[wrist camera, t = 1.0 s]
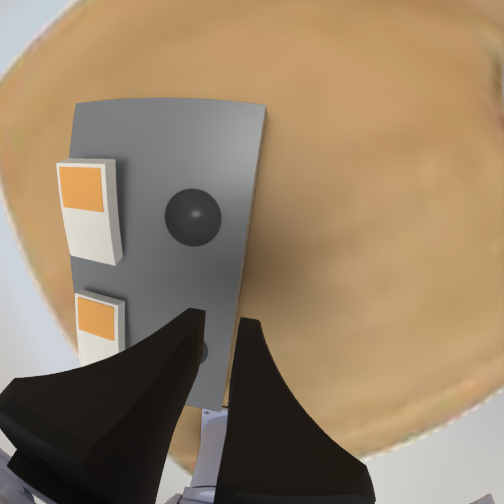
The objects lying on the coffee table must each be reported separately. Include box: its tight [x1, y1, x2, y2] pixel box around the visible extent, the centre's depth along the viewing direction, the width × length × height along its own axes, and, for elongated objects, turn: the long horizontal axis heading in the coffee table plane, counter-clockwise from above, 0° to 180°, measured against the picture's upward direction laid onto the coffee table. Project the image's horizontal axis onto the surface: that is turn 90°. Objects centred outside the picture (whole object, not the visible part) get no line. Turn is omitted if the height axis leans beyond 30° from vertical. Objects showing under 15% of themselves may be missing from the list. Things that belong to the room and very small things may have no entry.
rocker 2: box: [75, 290, 125, 367], centre depth 17 cm, size 6×4×1 cm, turn 171°
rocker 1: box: [56, 158, 123, 266], centre depth 14 cm, size 6×4×1 cm, turn 172°
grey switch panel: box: [70, 98, 267, 412], centre depth 18 cm, size 22×12×3 cm, turn 172°
